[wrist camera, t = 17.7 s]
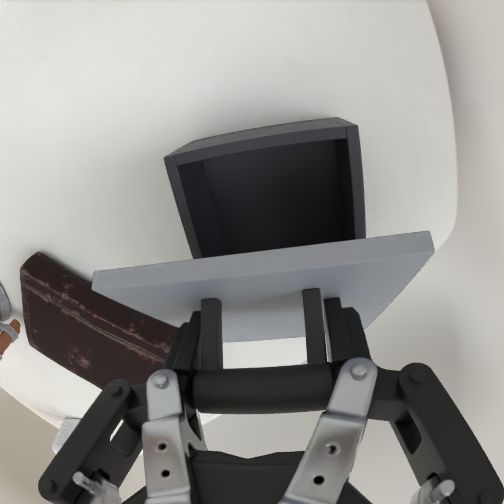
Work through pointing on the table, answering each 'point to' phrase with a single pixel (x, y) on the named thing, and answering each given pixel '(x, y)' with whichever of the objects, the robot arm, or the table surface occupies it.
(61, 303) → the diary
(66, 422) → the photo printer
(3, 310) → the mug
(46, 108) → the table surface
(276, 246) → the dark grey open box
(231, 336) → the lid
